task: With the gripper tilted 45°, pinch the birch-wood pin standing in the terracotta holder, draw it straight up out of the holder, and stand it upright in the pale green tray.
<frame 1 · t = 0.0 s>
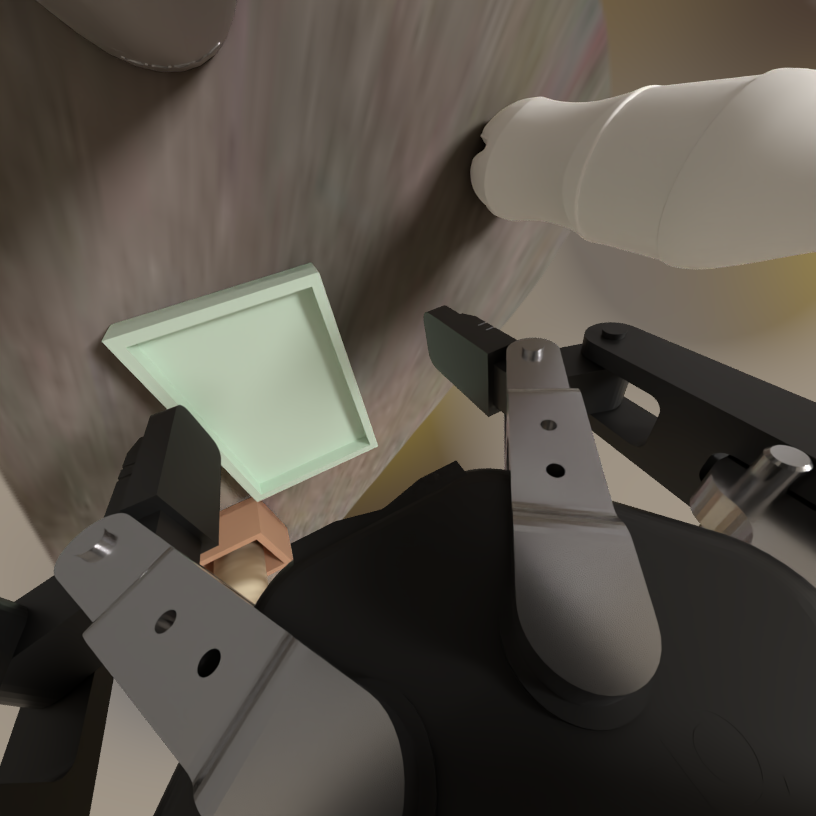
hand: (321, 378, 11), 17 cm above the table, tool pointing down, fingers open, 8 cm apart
pale green tray: (277, 393, 30), on the table
birch pin: (238, 534, 38), point 1 cm above the table, touching terracotta holder
terracotta holder: (237, 529, 38), on the table
water bottle: (496, 162, 26), on the table
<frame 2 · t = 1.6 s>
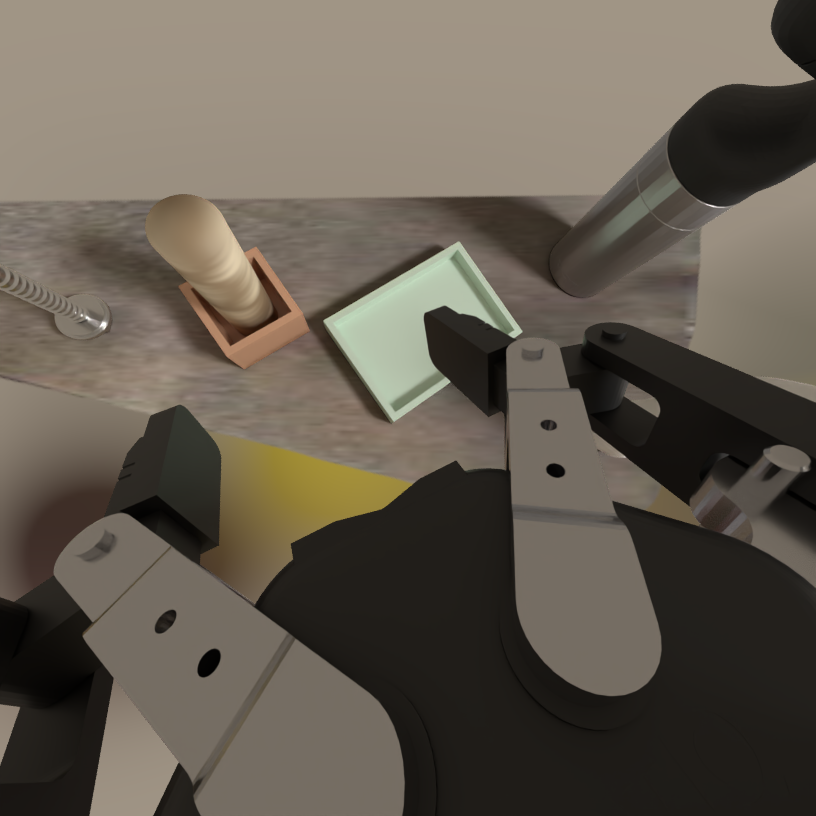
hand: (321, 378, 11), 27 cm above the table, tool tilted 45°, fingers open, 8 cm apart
pale green tray: (423, 333, 40), on the table
birch pin: (254, 317, 36), point 1 cm above the table, touching terracotta holder
terracotta holder: (257, 319, 37), on the table
water bottle: (600, 430, 43), on the table
screw: (100, 325, 34), on the table
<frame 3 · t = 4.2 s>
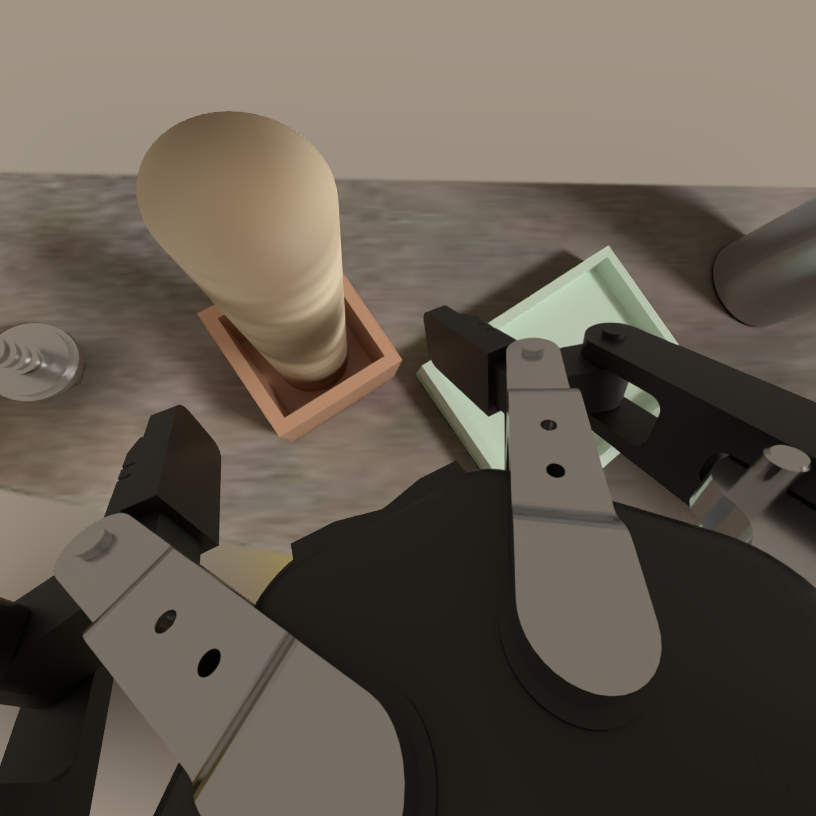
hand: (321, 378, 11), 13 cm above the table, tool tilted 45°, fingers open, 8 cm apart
pale green tray: (554, 380, 27), on the table
birch pin: (312, 358, 23), point 1 cm above the table, touching terracotta holder
terracotta holder: (314, 361, 24), on the table
screw: (66, 371, 21), on the table
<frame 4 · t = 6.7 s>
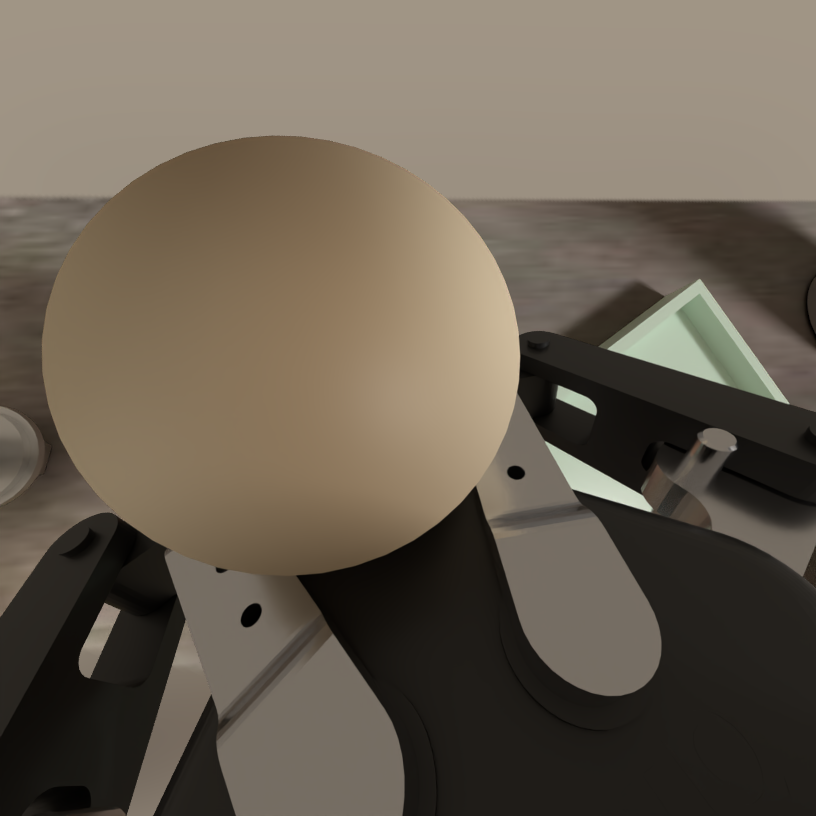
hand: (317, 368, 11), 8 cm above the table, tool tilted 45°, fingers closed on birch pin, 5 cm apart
pale green tray: (634, 444, 22), on the table
birch pin: (344, 430, 18), point 1 cm above the table, touching gripper, terracotta holder
screw: (25, 457, 16), on the table
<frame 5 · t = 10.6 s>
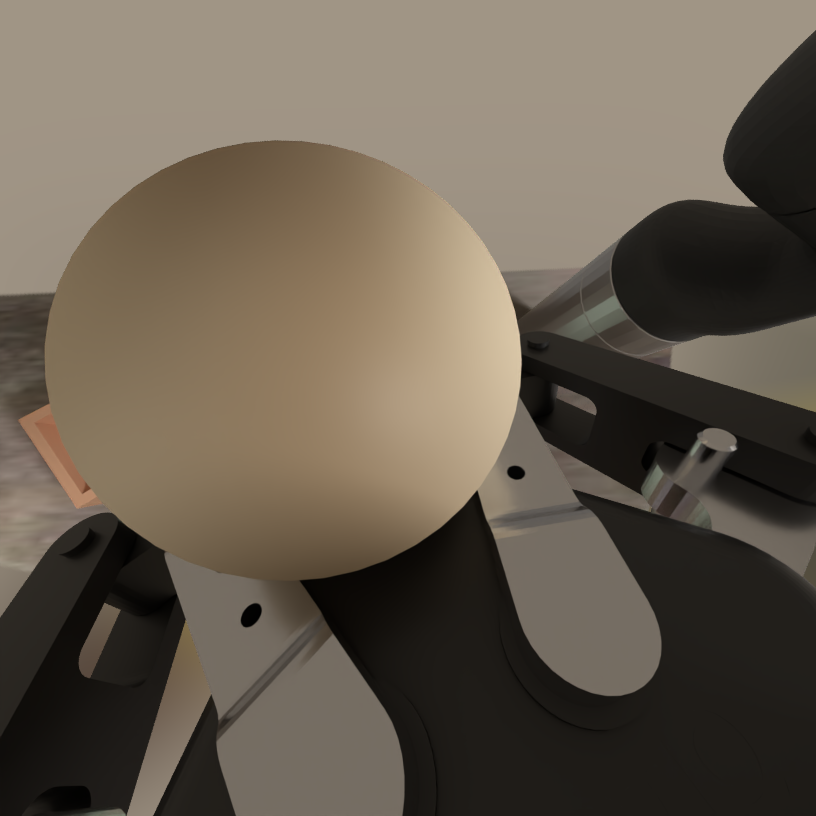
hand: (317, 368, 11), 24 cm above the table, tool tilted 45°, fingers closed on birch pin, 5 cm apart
birch pin: (345, 431, 18), point 17 cm above the table, touching gripper
terracotta holder: (141, 436, 31), on the table
when the fingers open (10 cm above the table, at t = 14.8 s): birch pin drops 2 cm, resting on pale green tray.
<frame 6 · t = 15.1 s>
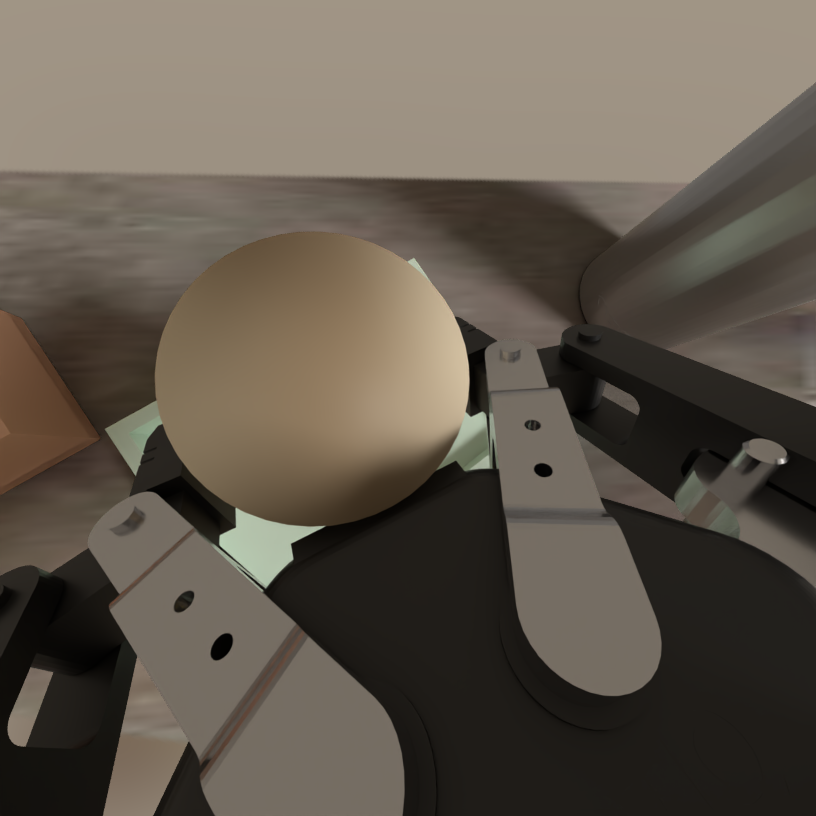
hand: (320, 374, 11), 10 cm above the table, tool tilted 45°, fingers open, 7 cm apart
pale green tray: (345, 434, 21), on the table
birch pin: (345, 435, 20), point 1 cm above the table, touching pale green tray
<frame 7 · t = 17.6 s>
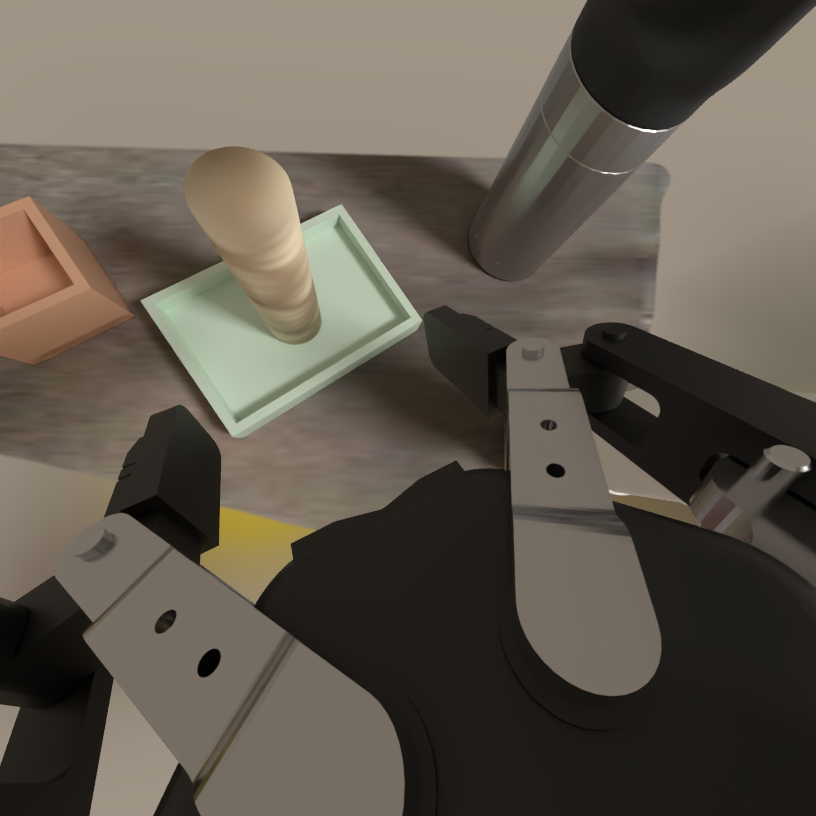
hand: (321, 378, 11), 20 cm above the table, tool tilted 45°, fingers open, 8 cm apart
pale green tray: (296, 322, 31), on the table
birch pin: (294, 319, 30), point 1 cm above the table, touching pale green tray
terracotta holder: (60, 300, 28), on the table
water bottle: (529, 446, 34), on the table
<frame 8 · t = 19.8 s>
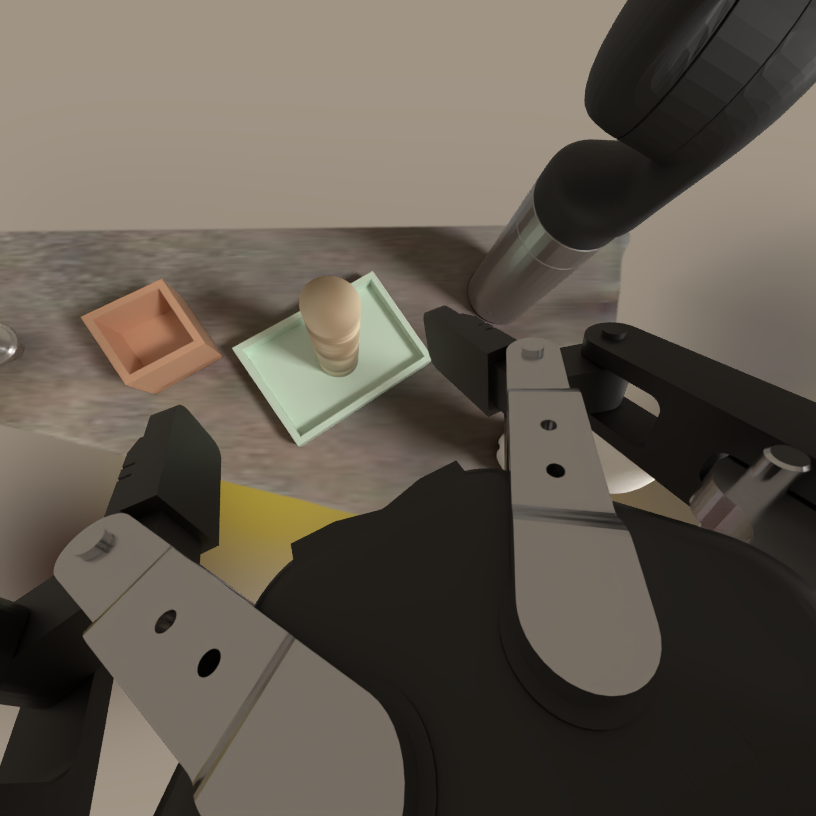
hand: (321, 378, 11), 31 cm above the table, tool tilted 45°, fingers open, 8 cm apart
pale green tray: (338, 359, 42), on the table
birch pin: (338, 358, 41), point 1 cm above the table, touching pale green tray
terracotta holder: (170, 346, 38), on the table
water bottle: (513, 452, 44), on the table
screw: (12, 351, 36), on the table
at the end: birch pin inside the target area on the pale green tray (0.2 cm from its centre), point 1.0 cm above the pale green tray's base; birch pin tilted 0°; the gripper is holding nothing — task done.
